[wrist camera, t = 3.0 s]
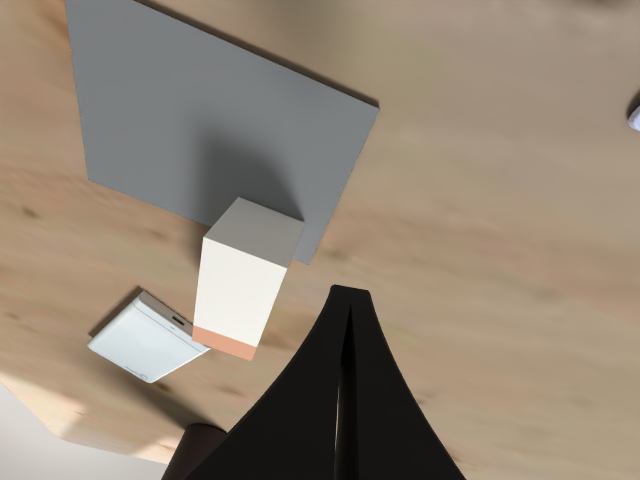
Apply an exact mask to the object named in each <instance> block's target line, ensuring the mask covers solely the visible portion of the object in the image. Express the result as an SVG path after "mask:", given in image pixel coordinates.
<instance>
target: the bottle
mask: <svg viewBox="0 0 640 480" xmlns="http://www.w3.org/2000/svg"><path fill="white" fill-rule="evenodd" d="M225 435H226V433H225V432H223V431H221V430H220V429H217V428H215V427H212V426H209V425H204V424H193V425H191V426H189V427H188V428H187V429H186V431H185V432H184V434H183V437H182V439H181V441H180V443H179V445H178V447H177V449H176V451H175V453H174V455H173V457H172V459H171V461H170V463H169V465H168V467H167V469H166V471H165V473H164V475H163V477H162V479H161V480H181V479H182V478H183V476H184V475H185V474H186V473H187V472H188V471H189V470H190V469H191V468H192V467H193V466H194V465H195V464H196V463H197V462H198V461H199V460H200V459H201V458H202V457H203V456H204V455H206V454H207V453H208V452H209V451H210V450H211V449H212V448H213V447H214V446H215V445H216V444H217V443H218V442H219V441H220V440H221V439H222V438H223V437H224V436H225Z"/></svg>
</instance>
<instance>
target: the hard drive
mask: <svg viewBox="0 0 640 480" xmlns="http://www.w3.org/2000/svg"><path fill="white" fill-rule="evenodd" d="M192 333H193V325H192V324H190V323H189V322H187V321H186V320H185V319H183V318H182V317H180V316H179V315H178V314H176V313H175V312H173V311H172V310H170V309H169V308H168V307H166V306H165V305H163V304H162V303H161V302H159V301H158V300H156V299H155V298H154V297H152V296H151V295H149V294H148V293H147V292H145V291H143V292H142V293H140V294H139V295H138V296H137V297H136V298H135V299H134V300H133V301H132V302H131V303H130V304H129V305H127V306H126V307H125V308H124V309H123V310H122V311H121V312H120V313H119V314H118V315H117V316H116V317H115V318H114V319H112V320H111V321H110V322H109V323H108V324H107V325H106V326H105V327H104V328H103V329H102V330H101V331H100V332H99V333H98V334H97V335H95V336H94V337H93V338H92V339H91V340H90V341H89V342H88V344H87V346H88V347H89V348H90V349H91V350H93V351H94V352H96V353H98V354H99V355H101V356H103V357H105V358H106V359H108V360H110V361H111V362H113V363H115V364H117V365H118V366H120V367H122V368H124V369H125V370H127V371H129V372H130V373H132V374H134V375H135V376H137V377H139V378H141V379H142V380H144V381H146V382H148V383H153V382H154V381H156V380H158V379H160V378H161V377H163V376H165V375H166V374H168V373H170V372H172V371H174V370H175V369H177V368H179V367H180V366H182V365H184V364H186V363H187V362H189V361H191V360H192V359H194V358H196V357H197V356H199V355H201V354H203V353H204V352H206V351H208V350H209V349H211V348H212V347H209V346H206V345H203V344H200V343H198V342H195V341H192Z"/></svg>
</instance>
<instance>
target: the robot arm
mask: <svg viewBox="0 0 640 480" xmlns="http://www.w3.org/2000/svg"><path fill="white" fill-rule="evenodd" d="M628 123H629V126H630V127H631V128H633V129H635V130H638V131H640V106H639V107H638V108H637V109H636V110H635V111H634V112H633V113H632V115H631V116H630V118H629V121H628ZM338 387H339V399H338ZM337 404H338V428H337V439H336V421H337ZM335 441H336V449H335ZM181 480H466V479H465V477H464V476H463V474H462V473H461V471H460V470H459V469H458V467H457V466H456V464H455V463H454V461H453V460H452V458H451V457H450V455H449V454H448V452H447V451H446V449H445V447H444V446H443V444H442V443H441V441H440V440H439V438H438V437H437V435H436V434H435V432H434V431H433V429H432V428H431V426H430V424H429V423H428V421H427V419H426V418H425V416H424V414H423V413H422V411H421V409H420V408H419V406H418V404H417V402H416V401H415V399H414V397H413V395H412V393H411V392H410V390H409V388H408V386H407V384H406V382H405V380H404V378H403V376H402V374H401V372H400V370H399V368H398V366H397V364H396V362H395V360H394V358H393V355H392V353H391V351H390V349H389V346H388V344H387V342H386V339H385V337H384V334H383V332H382V329H381V327H380V324H379V321H378V318H377V315H376V312H375V309H374V306H373V302H372V299H371V294H370V292H369V291H368V290H363V289H357V288H352V287H346V286H340V285H335V284H334V285H333V286H331V288H330V292H329V295H328V298H327V300H326V303H325V305H324V307H323V309H322V311H321V313H320V315H319V317H318V318H317V320H316V322H315V324H314V326H313V327H312V329H311V331H310V332H309V334H308V335H307V337H306V339H305V340H304V342H303V343H302V345H301V346H300V348H299V349H298V351H297V352H296V354H295V355H294V356H293V358H292V359H291V361H290V362H289V363H288V365H287V366H286V367H285V368H284V370H283V371H282V372H281V374H280V375H279V376H278V377H277V379H276V380H275V381H274V382H273V383H272V385H271V386H270V387H269V388H268V389H267V391H266V392H265V393H264V394H263V395H262V397H261V398H260V399H259V400H258V401H257V402H256V403H255V404H254V406H253V407H252V408H251V409H250V410H249V411H248V412H247V413H246V414H245V415H244V416H243V417H242V418H241V419H240V420H239V422H238V423H237V424H236V425H235V426H234V427H233V428H232V429H231V430H230V431H229V432H228V433H227V434H226V435H225V436H224V437H223V438H222V439H221V440H220V441H219V442H218V443H217V444H216V445H215V446H214V447H213V448H212V449H211V450H210V451H209V452H208V453H207V454H206V455H204V456H203V457H202V458H201V459H200V460H199V461H198V462H197V463H196V464H195V465H194V466H193V467H192V468H191V469H190V470H189V471H188V472H187V473H186V474H185V475H184V476H183V478H182V479H181Z"/></svg>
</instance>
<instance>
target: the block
mask: <svg viewBox="0 0 640 480" xmlns="http://www.w3.org/2000/svg"><path fill="white" fill-rule="evenodd" d="M304 224H305V223H304V222H302V221H299V220H297V219H294V218H292V217H289V216H286V215H284V214H281V213H279V212H276V211H274V210H271V209H269V208H266V207H263V206H261V205H258V204H256V203H253V202H251V201H248V200H246V199H243V198H240V197H238V198H237V199H236V200H235V202H234V203H233V204H232V205H231V206H230V207H229V208H228V210H227V211H226V212H225V213H224V214H223V215H222V216H221V217H220V219H219V220H218V221H217V222H216V223H215V224H214V225H213V227H212V228H211V229H210V230H209V231H208V232H207V233H206V235H205V236H204V237H203V245H202V254H201V263H200V272H199V280H198V289H197V298H196V307H195V316H194V324H193V333H192V341H195V342H198V343H200V344H203V345H206V346H209V347H212V348H215V349H218V350H221V351H223V352H226V353H229V354H232V355H235V356H238V357H241V358H244V359H246V360H249V361H251V360H252V358H253V355H254V353H255V350H256V348H257V345H258V342H259V340H260V337H261V335H262V332H263V330H264V327H265V324H266V322H267V319H268V317H269V314H270V312H271V309H272V306H273V304H274V301H275V299H276V296H277V294H278V291H279V288H280V286H281V283H282V281H283V278H284V276H285V273H286V270H287V268H288V265H289V263H290V260H291V257H292V255H293V252H294V250H295V247H296V245H297V242H298V239H299V237H300V234H301V232H302V229H303V226H304Z"/></svg>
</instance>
